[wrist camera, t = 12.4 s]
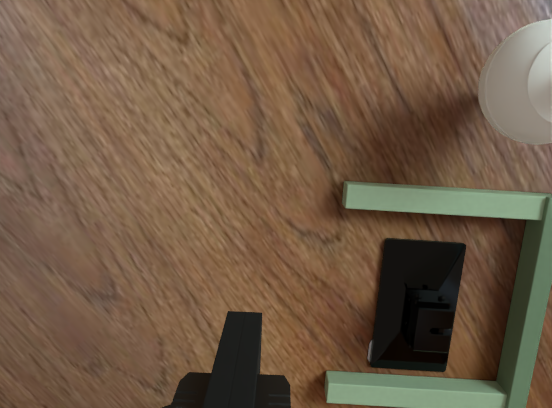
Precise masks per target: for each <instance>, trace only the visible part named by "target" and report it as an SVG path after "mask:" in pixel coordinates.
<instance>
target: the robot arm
mask: <svg viewBox="0 0 552 408" xmlns="http://www.w3.org/2000/svg"><path fill="white" fill-rule="evenodd" d="M261 332H262V313H255V312H232V311H228V313H227V317H226V321H225V324H224V328H223V332H222V336H221V339H220V343H219V347H218V350H217V354H216V358H215V362H214V365H213V369H212V373H194V372H189V373H188V374H187V375H186V376H185V377H183V378H182V379H181V380H180V382H179V385H178V387H177V390H176V393H175V395H174V398H173V402H172V403H171V405H168V406H165V407H162V408H291V402H290V384H289V382H288V381H287V379H286V378H285V376H284V375H262V374H260V360H261Z"/></svg>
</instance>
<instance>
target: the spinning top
mask: <svg viewBox="0 0 552 408" xmlns="http://www.w3.org/2000/svg"><path fill="white" fill-rule="evenodd" d="M478 99H479V104H480V107H481V110H482V112H483V114H484V116H485V118H486V119H487V121H488V122H489V123H490V125H491V126H492V127H493V128H494V129H495V130H497V131H498V132H499V133H501V134H502V135H504V136H506V137H508V138H510V139H512V140H515V141H518V142H522V143H526V144H549V143H552V19H549V20H543V21H538V22H535V23H532V24H529V25H527V26H524V27H522V28H520V29H519V30H517V31H516V32H514V33H512V34H511V35H509V36H508V37H507V38H505V39H504V40H503V41H502V42H501V43H500V44H499V45H498V46H497V47H496V48H495V49H494V50H493V52H492V53H491V54H490V56H489V57H488V59H487V61H486V63H485V64H484V67H483V69H482V72H481V75H480V78H479V83H478Z"/></svg>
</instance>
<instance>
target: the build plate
mask: <svg viewBox="0 0 552 408" xmlns="http://www.w3.org/2000/svg"><path fill="white" fill-rule="evenodd" d="M465 250H466V245H465V244H464V243H456V242H441V241H426V240H410V239H395V238H386V239H385V243H384V251H383V259H382V267H381V275H380V284H379V292H378V300H377V308H376V316H375V324H374V332H373V339H372V340H371V342H370V343H369V349H368V360H369V362H370V365H371V367H376V368H391V369H407V370H422V371H438V372H444V371H445V370H446V366H447V360H448V354H449V348H450V341H451V335H452V329H453V323H454V317H455V311H456V305H457V299H458V293H459V287H460V281H461V275H462V269H463V262H464V256H465Z"/></svg>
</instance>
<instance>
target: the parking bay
mask: <svg viewBox="0 0 552 408" xmlns="http://www.w3.org/2000/svg"><path fill="white" fill-rule="evenodd" d="M342 204H343V206H344V207H345V208H347V209H363V210H379V211H396V212H412V213H428V214H444V215H461V216H477V217H493V218H509V219H526V226H525V231H524V236H523V242H522V247H521V252H520V258H519V263H518V268H517V273H516V279H515V284H514V289H513V295H512V300H511V305H510V311H509V316H508V321H507V326H506V332H505V337H504V342H503V348H502V353H501V358H500V364H499V369H498V374H497V379H496V381H487V380H471V379H455V378H438V377H422V376H406V375H390V374H373V373H357V372H341V371H326V377H325V387H324V390H325V396H326V402H327V403H338V404H354V405H370V406H386V407H403V408H526V403H527V398H528V393H529V389H530V384H531V379H532V374H533V369H534V365H535V360H536V355H537V350H538V345H539V341H540V336H541V331H542V326H543V321H544V317H545V312H546V307H547V302H548V297H549V292H550V288H551V283H552V194H549V193H533V192H516V191H500V190H484V189H468V188H451V187H435V186H419V185H403V184H386V183H370V182H354V181H344V186H343V197H342Z"/></svg>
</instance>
